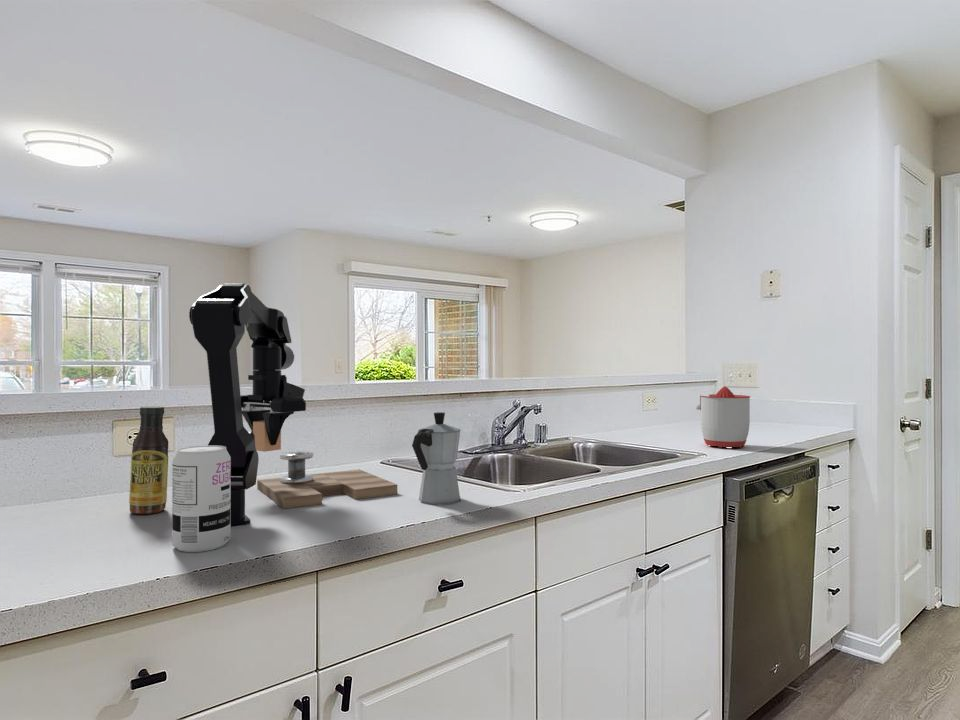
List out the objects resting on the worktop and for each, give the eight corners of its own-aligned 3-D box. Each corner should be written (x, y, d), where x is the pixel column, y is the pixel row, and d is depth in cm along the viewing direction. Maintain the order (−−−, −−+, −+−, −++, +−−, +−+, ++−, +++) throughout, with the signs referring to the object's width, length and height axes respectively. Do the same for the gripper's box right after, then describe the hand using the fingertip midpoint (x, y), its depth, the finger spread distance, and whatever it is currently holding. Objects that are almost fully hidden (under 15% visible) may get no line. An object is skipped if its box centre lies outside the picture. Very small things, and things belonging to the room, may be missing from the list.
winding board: (397, 493, 131) (397, 484, 131) (283, 508, 118) (283, 498, 118) (359, 477, 149) (359, 469, 149) (257, 488, 136) (257, 479, 136)
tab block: (280, 449, 130) (280, 421, 130) (264, 451, 126) (264, 422, 126) (269, 447, 132) (269, 420, 132) (252, 450, 129) (252, 421, 129)
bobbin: (317, 481, 134) (317, 454, 134) (285, 485, 130) (285, 457, 130) (307, 476, 140) (307, 450, 140) (276, 480, 136) (276, 453, 136)
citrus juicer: (710, 441, 215) (710, 384, 215) (759, 447, 202) (759, 386, 202) (685, 445, 205) (685, 386, 205) (735, 451, 192) (735, 387, 192)
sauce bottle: (124, 516, 112) (125, 408, 112) (134, 508, 118) (134, 405, 118) (164, 514, 113) (164, 407, 113) (171, 506, 119) (171, 405, 119)
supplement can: (175, 540, 97) (175, 446, 97) (231, 535, 100) (231, 443, 100) (168, 556, 90) (168, 453, 90) (229, 550, 92) (229, 450, 92)
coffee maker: (439, 491, 133) (439, 409, 133) (473, 496, 129) (473, 410, 129) (396, 505, 120) (396, 414, 120) (432, 511, 116) (432, 416, 116)
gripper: (326, 370, 130) (326, 443, 130) (271, 369, 141) (271, 437, 141) (282, 370, 121) (282, 449, 121) (228, 370, 132) (227, 442, 132)
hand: (266, 444), depth 129 cm, fingers closed on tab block, 4 cm apart
